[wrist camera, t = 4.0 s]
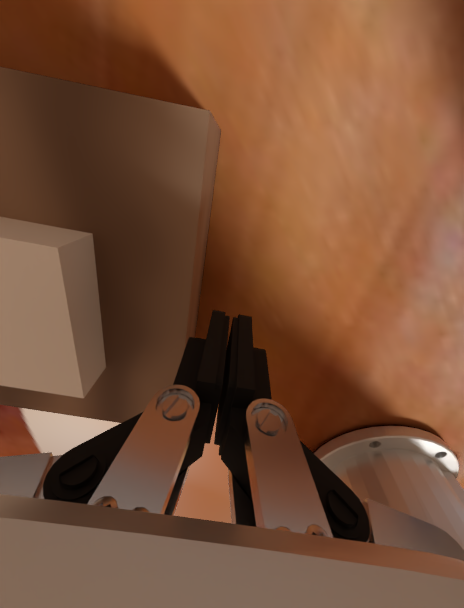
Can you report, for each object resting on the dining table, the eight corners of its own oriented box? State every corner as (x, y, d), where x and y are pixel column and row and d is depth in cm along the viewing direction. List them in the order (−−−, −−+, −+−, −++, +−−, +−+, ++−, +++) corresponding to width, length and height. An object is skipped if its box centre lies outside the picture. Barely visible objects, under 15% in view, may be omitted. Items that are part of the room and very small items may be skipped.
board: (221, 130, 11) (209, 110, 7) (189, 382, 19) (176, 431, 15) (-255, 31, 10) (-522, -43, 7) (-83, 338, 18) (-164, 379, 14)
